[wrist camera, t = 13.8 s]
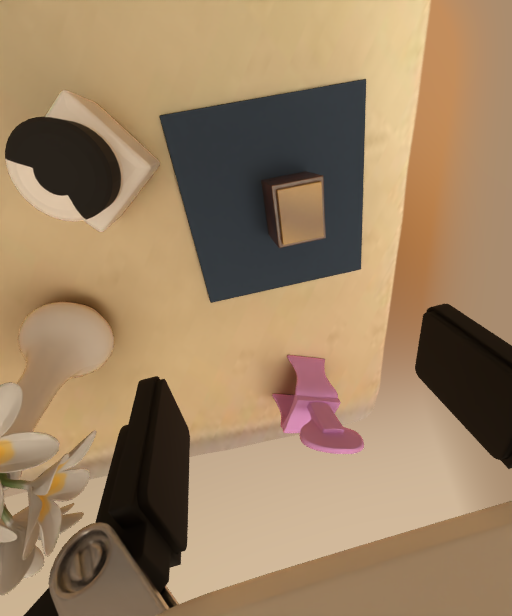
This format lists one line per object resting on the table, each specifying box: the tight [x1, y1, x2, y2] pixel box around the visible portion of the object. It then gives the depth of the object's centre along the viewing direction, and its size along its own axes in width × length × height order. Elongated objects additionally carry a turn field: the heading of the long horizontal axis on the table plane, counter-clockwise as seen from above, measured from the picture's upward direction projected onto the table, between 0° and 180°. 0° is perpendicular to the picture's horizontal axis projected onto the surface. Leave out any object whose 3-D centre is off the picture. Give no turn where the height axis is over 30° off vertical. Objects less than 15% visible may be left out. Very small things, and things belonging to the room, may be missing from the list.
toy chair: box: [272, 355, 364, 454], centre depth 40 cm, size 8×9×15 cm
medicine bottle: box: [5, 90, 160, 232], centre depth 23 cm, size 7×7×12 cm
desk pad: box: [160, 79, 366, 303], centre depth 33 cm, size 20×20×1 cm
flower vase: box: [0, 302, 114, 595], centre depth 25 cm, size 13×18×25 cm
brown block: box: [261, 171, 326, 248], centre depth 30 cm, size 6×5×6 cm
